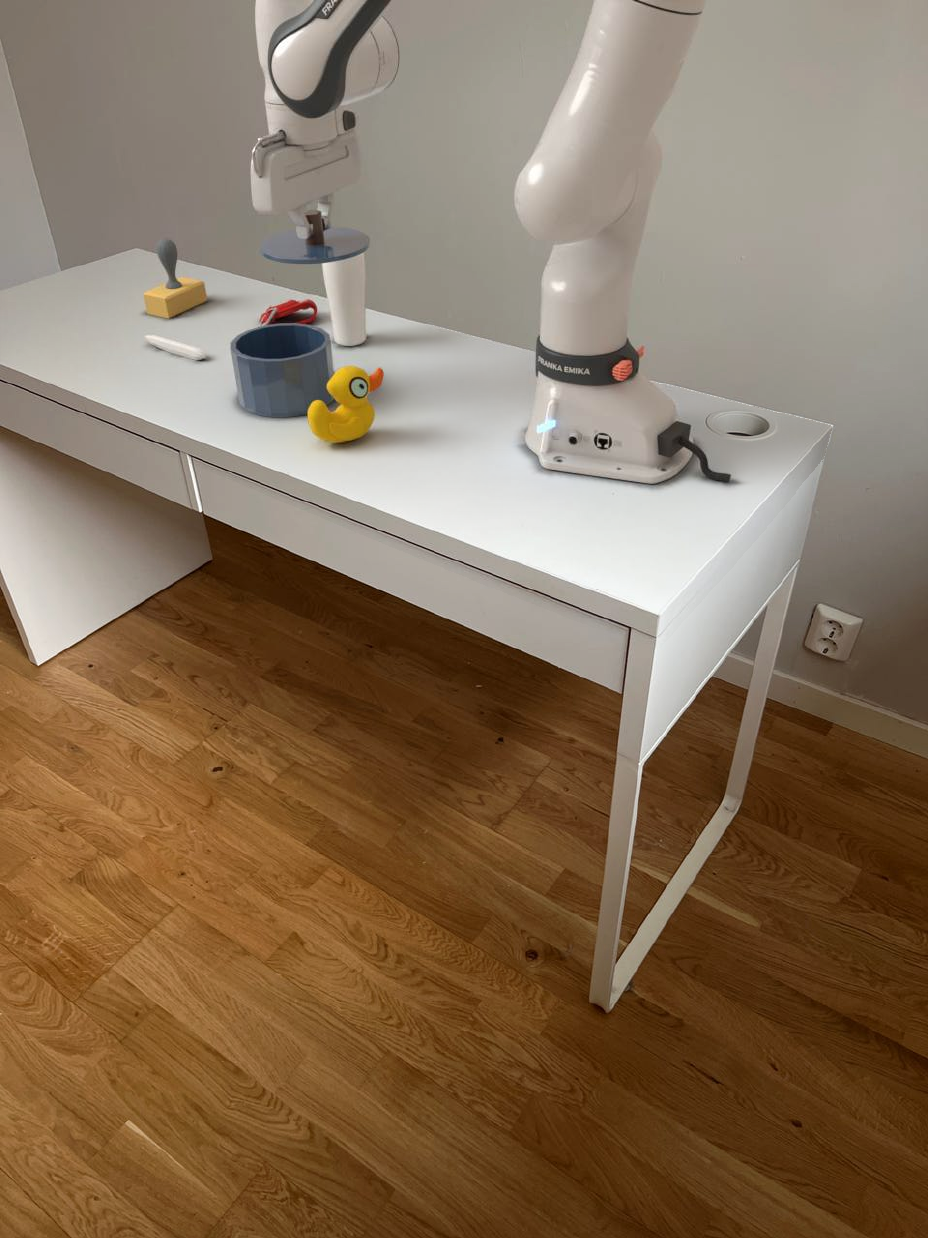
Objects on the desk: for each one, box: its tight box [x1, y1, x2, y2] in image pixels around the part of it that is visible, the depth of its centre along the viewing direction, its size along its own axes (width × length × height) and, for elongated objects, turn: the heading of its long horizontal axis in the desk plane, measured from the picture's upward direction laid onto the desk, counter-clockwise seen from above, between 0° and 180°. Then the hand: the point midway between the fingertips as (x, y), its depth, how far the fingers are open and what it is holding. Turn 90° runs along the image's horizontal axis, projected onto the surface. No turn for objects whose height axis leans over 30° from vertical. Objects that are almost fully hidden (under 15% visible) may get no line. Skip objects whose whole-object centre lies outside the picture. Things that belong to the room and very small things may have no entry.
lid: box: [259, 209, 371, 265], centre depth 139 cm, size 15×15×5 cm
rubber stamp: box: [143, 237, 208, 320], centre depth 178 cm, size 10×6×12 cm, turn 150°
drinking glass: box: [321, 252, 367, 347], centre depth 163 cm, size 7×7×15 cm
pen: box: [144, 334, 206, 361], centre depth 165 cm, size 2×14×2 cm, turn 56°
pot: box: [229, 322, 335, 418], centre depth 148 cm, size 14×14×8 cm
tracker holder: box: [257, 298, 318, 327], centre depth 173 cm, size 12×4×10 cm
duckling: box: [307, 365, 385, 444], centre depth 136 cm, size 11×5×10 cm, turn 122°
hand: (314, 233), depth 139 cm, fingers closed on lid, 2 cm apart
